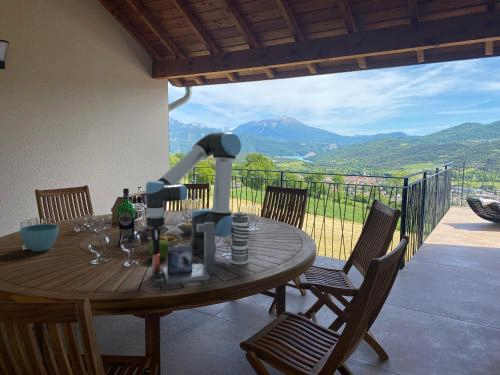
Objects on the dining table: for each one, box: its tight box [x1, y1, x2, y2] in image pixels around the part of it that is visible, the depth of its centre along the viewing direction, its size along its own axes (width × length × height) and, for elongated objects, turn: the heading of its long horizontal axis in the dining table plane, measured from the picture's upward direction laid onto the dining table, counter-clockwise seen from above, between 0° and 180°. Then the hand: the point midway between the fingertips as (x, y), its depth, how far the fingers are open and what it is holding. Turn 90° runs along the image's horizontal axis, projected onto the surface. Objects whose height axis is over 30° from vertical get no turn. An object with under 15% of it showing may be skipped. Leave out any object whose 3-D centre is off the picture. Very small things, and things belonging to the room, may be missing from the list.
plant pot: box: [19, 223, 60, 253], centre depth 189 cm, size 18×18×12 cm
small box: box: [167, 245, 193, 274], centre depth 153 cm, size 11×6×10 cm, turn 107°
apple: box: [147, 239, 171, 260], centre depth 177 cm, size 11×10×10 cm
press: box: [152, 222, 216, 288], centre depth 153 cm, size 18×26×23 cm
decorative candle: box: [230, 211, 250, 265], centre depth 173 cm, size 9×9×25 cm
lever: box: [152, 253, 163, 279], centre depth 150 cm, size 4×4×10 cm
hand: (155, 268), depth 155 cm, fingers closed
